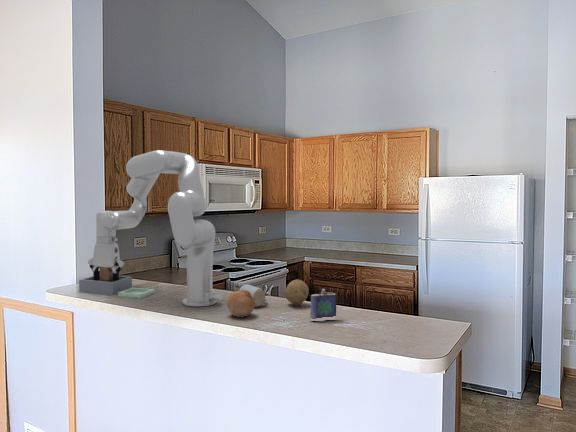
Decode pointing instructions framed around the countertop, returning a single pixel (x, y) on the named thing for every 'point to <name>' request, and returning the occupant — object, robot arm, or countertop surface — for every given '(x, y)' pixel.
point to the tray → (136, 293)
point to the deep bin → (105, 285)
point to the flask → (323, 305)
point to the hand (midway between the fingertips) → (106, 281)
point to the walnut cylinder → (105, 274)
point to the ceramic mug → (255, 294)
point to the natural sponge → (296, 292)
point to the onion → (240, 303)
